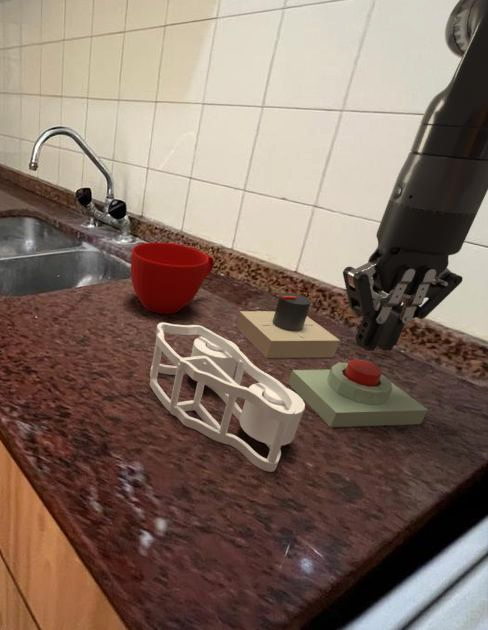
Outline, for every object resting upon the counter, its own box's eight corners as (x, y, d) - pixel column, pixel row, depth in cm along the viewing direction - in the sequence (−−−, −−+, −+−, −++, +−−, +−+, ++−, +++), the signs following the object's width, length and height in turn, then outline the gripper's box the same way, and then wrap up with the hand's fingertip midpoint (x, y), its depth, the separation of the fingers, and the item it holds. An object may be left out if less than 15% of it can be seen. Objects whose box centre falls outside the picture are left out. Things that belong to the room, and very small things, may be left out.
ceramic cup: (229, 312, 81) (242, 259, 76) (154, 327, 73) (163, 269, 69) (182, 286, 91) (191, 238, 87) (111, 297, 84) (117, 245, 79)
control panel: (295, 327, 77) (301, 310, 76) (333, 357, 68) (340, 339, 67) (235, 327, 75) (239, 310, 74) (266, 358, 66) (271, 339, 65)
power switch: (367, 382, 62) (377, 357, 61) (420, 424, 54) (434, 397, 53) (287, 383, 61) (296, 358, 59) (330, 427, 53) (341, 399, 51)
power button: (363, 371, 58) (367, 359, 57) (384, 387, 55) (389, 375, 54) (337, 371, 57) (342, 359, 56) (357, 388, 54) (362, 375, 53)
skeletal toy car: (312, 463, 47) (335, 406, 44) (221, 482, 44) (239, 422, 41) (207, 363, 64) (218, 317, 61) (136, 371, 61) (144, 323, 58)
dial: (293, 318, 73) (301, 291, 71) (308, 331, 69) (318, 302, 67) (267, 318, 72) (275, 290, 70) (281, 331, 68) (290, 302, 66)
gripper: (402, 207, 42) (342, 365, 50) (526, 212, 44) (450, 363, 51) (348, 192, 49) (302, 332, 56) (458, 197, 51) (399, 332, 58)
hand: (373, 346), depth 54 cm, fingers closed
